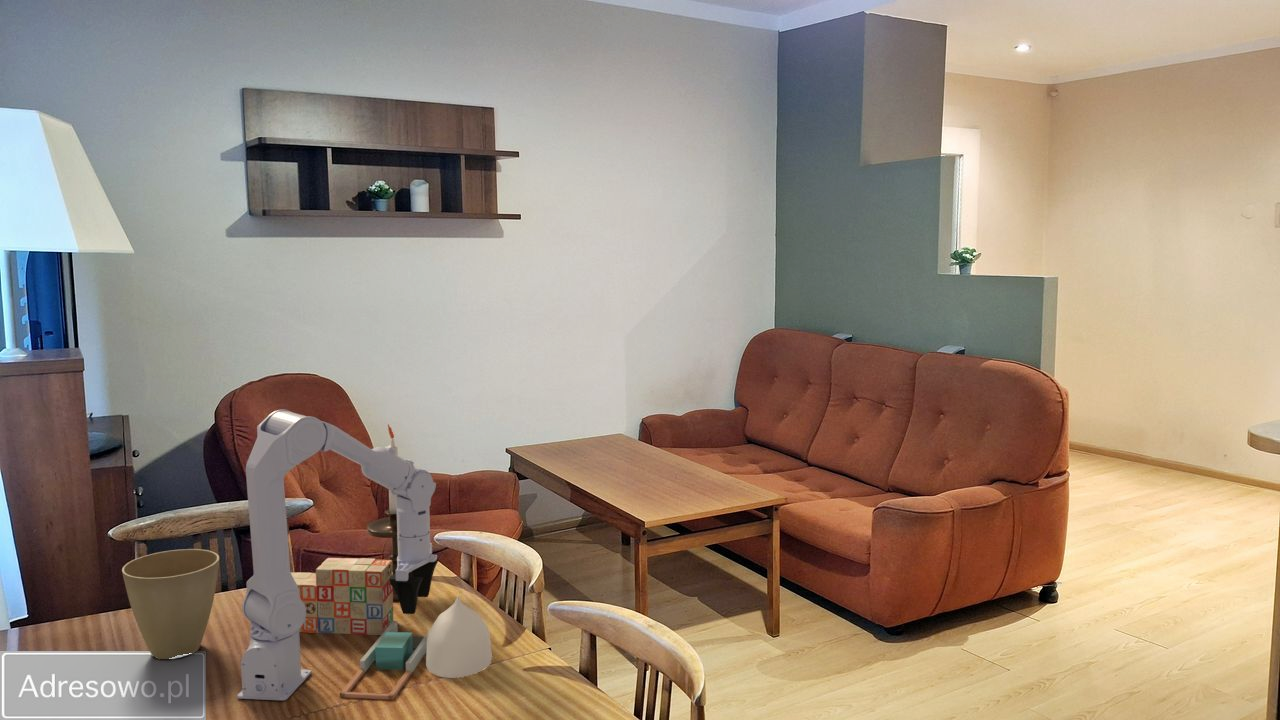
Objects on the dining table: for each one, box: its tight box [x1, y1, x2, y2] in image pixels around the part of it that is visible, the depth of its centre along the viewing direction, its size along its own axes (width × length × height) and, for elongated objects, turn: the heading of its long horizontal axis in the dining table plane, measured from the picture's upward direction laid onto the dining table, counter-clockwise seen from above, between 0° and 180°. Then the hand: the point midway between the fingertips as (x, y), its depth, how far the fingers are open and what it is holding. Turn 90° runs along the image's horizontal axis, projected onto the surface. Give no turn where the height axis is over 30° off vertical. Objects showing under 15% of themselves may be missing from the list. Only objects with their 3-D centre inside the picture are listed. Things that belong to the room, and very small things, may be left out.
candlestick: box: [366, 424, 399, 602], centre depth 182 cm, size 11×11×35 cm
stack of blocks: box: [290, 557, 394, 636], centre depth 168 cm, size 21×6×12 cm, turn 87°
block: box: [375, 631, 414, 671], centre depth 154 cm, size 6×4×4 cm
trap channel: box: [339, 620, 430, 701], centre depth 154 cm, size 24×9×2 cm, turn 176°
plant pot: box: [121, 548, 220, 660], centre depth 157 cm, size 15×15×16 cm
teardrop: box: [425, 595, 493, 679], centre depth 153 cm, size 11×11×12 cm
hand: (415, 604), depth 165 cm, fingers open, 7 cm apart
